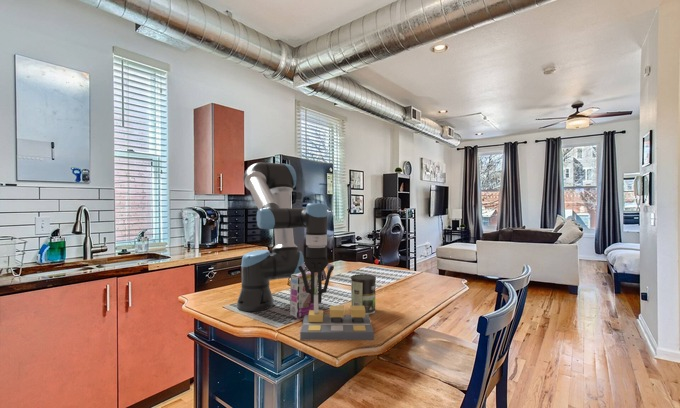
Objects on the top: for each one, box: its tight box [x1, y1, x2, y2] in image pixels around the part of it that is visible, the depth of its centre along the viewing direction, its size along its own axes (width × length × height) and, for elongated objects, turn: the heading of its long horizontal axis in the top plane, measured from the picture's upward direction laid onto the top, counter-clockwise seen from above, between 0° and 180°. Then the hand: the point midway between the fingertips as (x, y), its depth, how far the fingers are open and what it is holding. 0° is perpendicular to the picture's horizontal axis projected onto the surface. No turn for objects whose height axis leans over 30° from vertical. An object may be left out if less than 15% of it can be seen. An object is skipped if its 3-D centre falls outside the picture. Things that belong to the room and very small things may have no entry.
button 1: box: [308, 309, 324, 322], centre depth 114 cm, size 5×5×5 cm
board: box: [299, 314, 375, 341], centre depth 111 cm, size 24×16×3 cm, turn 91°
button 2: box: [329, 305, 345, 322], centre depth 114 cm, size 5×5×5 cm
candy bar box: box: [289, 270, 318, 319], centre depth 127 cm, size 11×5×16 cm, turn 141°
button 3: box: [350, 305, 365, 322], centre depth 114 cm, size 5×5×5 cm
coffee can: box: [350, 273, 377, 316], centre depth 131 cm, size 10×10×14 cm
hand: (316, 311), depth 114 cm, fingers closed
